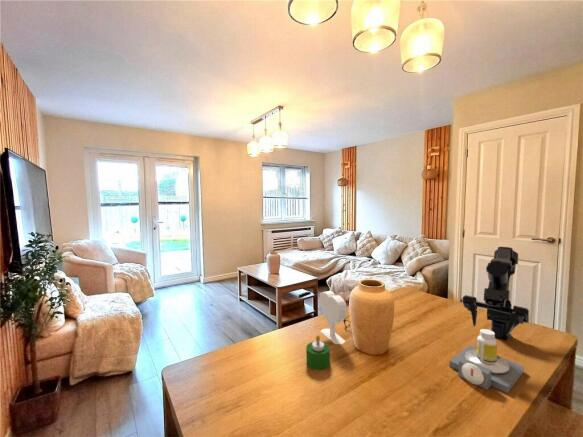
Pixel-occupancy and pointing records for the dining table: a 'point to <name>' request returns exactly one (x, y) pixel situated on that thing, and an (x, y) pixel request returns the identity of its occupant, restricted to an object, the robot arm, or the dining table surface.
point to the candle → (318, 354)
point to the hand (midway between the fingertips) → (489, 330)
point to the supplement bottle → (487, 347)
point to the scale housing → (485, 372)
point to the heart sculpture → (333, 314)
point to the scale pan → (496, 368)
